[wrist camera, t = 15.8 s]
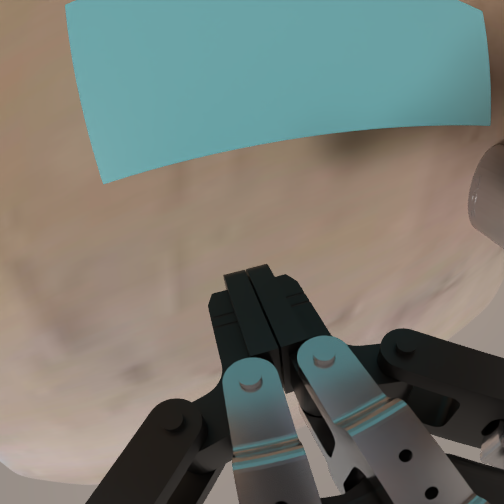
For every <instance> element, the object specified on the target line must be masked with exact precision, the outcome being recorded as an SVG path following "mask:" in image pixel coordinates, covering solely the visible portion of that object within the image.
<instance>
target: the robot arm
mask: <svg viewBox="0 0 504 504" xmlns="http://www.w3.org/2000/svg"><path fill="white" fill-rule="evenodd" d="M468 214H469V219H470V222H471V224H472V226H473V227H474V228H475V229H477V230H478V231H480V232H481V233H483V234H484V235H485V236H487V237H488V238H490V239H491V240H492V241H494V242H495V243H496V244H498V245H499V246H500V247H502V248H503V249H504V145H495V146H493V147H491V148H490V149H489V150H488V151H487V152H486V153H485V155H484V156H483V157H482V159H481V161H480V162H479V164H478V166H477V168H476V171H475V173H474V176H473V179H472V183H471V187H470V192H469V199H468ZM223 276H224V281H225V285H226V289H227V290H225V291H221V292H218V293H214V294H212V295H211V298H210V301H209V304H208V308H209V312H210V317H211V321H212V326H213V330H214V334H215V339H216V343H217V347H218V351H219V355H220V359H221V363H222V376H221V379H220V381H219V383H218V384H217V386H216V387H215V388H214V389H213V390H212V391H211V392H209V393H208V394H206V395H205V396H203V397H201V398H199V399H197V400H196V401H194V402H190V401H188V400H184V399H169V400H166V401H163V402H161V403H160V404H158V405H157V406H156V407H155V408H154V409H153V410H152V411H151V412H150V414H149V415H148V417H147V418H146V419H145V421H144V422H143V424H142V425H141V426H140V428H139V429H138V431H137V432H136V434H135V435H134V436H133V438H132V439H131V441H130V442H129V443H128V445H127V446H126V448H125V449H124V450H123V452H122V453H121V455H120V456H119V457H118V459H117V460H116V462H115V463H114V464H113V466H112V467H111V469H110V470H109V471H108V473H107V474H106V476H105V477H104V478H103V480H102V481H101V483H100V484H99V485H98V487H97V488H96V489H95V491H94V492H93V494H92V495H91V496H90V498H89V499H88V501H87V502H86V503H85V504H203V503H204V501H205V499H206V498H207V496H208V494H209V492H210V491H211V489H212V487H213V485H214V484H215V482H216V480H217V478H218V477H219V475H220V473H221V471H222V470H223V468H224V466H225V464H226V463H227V462H229V461H231V460H232V467H233V473H234V478H235V484H236V489H237V494H238V500H239V504H504V358H501V357H498V356H494V355H491V354H488V353H484V352H481V351H478V350H475V349H471V348H468V347H465V346H461V345H458V344H455V343H452V342H449V341H445V340H442V339H439V338H436V337H433V336H430V335H426V334H423V333H420V332H417V331H414V330H411V329H404V328H403V329H395V330H392V331H390V332H389V333H387V334H386V335H385V336H384V338H383V339H382V342H381V344H374V345H364V346H351V345H347V344H345V343H344V342H343V341H342V340H340V339H338V338H336V337H333V336H332V335H331V334H330V333H329V331H328V329H327V328H326V326H325V325H324V323H323V321H322V320H321V318H320V317H319V315H318V313H317V312H316V310H315V309H314V307H313V306H312V304H311V302H309V299H308V298H307V296H306V294H304V291H303V290H302V288H301V287H300V285H299V283H298V282H297V281H296V280H294V279H293V278H291V277H289V276H288V275H286V274H285V275H281V276H277V277H274V275H273V273H272V271H271V270H270V268H269V266H268V265H267V264H264V265H260V266H257V267H253V268H249V269H246V272H245V270H242V271H238V272H234V273H230V274H226V275H223ZM283 388H284V391H285V393H286V394H287V393H290V392H293V391H294V392H295V395H296V397H297V399H298V401H299V411H300V414H301V415H302V417H303V419H304V421H305V423H306V425H307V427H308V428H309V430H310V432H311V434H312V436H313V437H314V439H315V441H316V443H317V444H318V446H319V448H320V450H321V452H322V454H323V456H324V457H325V459H326V462H327V464H328V469H329V472H330V474H331V476H332V479H333V481H334V483H335V484H336V486H337V488H338V489H339V491H340V493H341V495H339V496H333V497H327V498H320V497H319V494H318V490H317V487H316V485H315V481H314V478H313V475H312V472H311V469H310V466H309V462H308V459H307V456H306V453H305V450H304V448H303V445H302V443H301V442H300V441H299V439H298V436H297V434H296V430H295V427H294V424H293V420H292V417H291V414H290V411H289V407H288V404H287V401H286V398H285V394H284V391H283ZM431 434H432V435H435V436H438V437H442V438H445V439H448V440H452V441H455V442H459V443H462V444H466V445H470V446H473V447H477V448H481V451H482V452H481V454H480V460H481V461H482V462H483V463H485V464H487V463H488V464H490V465H492V466H494V467H492V466H489V465H485V464H482V463H478V462H475V461H471V460H468V459H465V458H462V457H458V456H455V455H452V454H446V453H444V451H443V450H442V449H441V447H440V446H439V445H438V443H437V442H436V441H435V439H434V438H433V437H432V436H431Z"/></svg>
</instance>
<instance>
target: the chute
mask: <svg viewBox="0 0 504 504" xmlns="http://www.w3.org/2000/svg"><path fill="white" fill-rule="evenodd" d="M65 9H66V18H67V27H68V34H69V41H70V48H71V54H72V60H73V66H74V71H75V77H76V82H77V87H78V92H79V96H80V101H81V105H82V109H83V114H84V118H85V122H86V126H87V130H88V134H89V137H90V141H91V145H92V148H93V152H94V155H95V159H96V162H97V166H98V169H99V172H100V175H101V179H102V182H103V184H106V183H109V182H112V181H115V180H119V179H122V178H125V177H128V176H132V175H135V174H138V173H142V172H145V171H149V170H152V169H156V168H160V167H163V166H167V165H171V164H175V163H178V162H182V161H186V160H190V159H194V158H199V157H203V156H207V155H212V154H216V153H221V152H225V151H230V150H235V149H239V148H244V147H250V146H255V145H260V144H266V143H271V142H277V141H283V140H289V139H295V138H302V137H309V136H316V135H323V134H331V133H340V132H348V131H358V130H368V129H380V128H394V127H411V126H438V125H481V126H490V124H491V86H490V67H489V55H488V46H487V37H486V30H485V24H484V18H483V12H482V11H480V10H478V9H476V8H474V7H472V6H470V5H467V4H465V3H463V2H460V1H458V0H76V1H73V2H71V3H69V4H66V5H65Z"/></svg>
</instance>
